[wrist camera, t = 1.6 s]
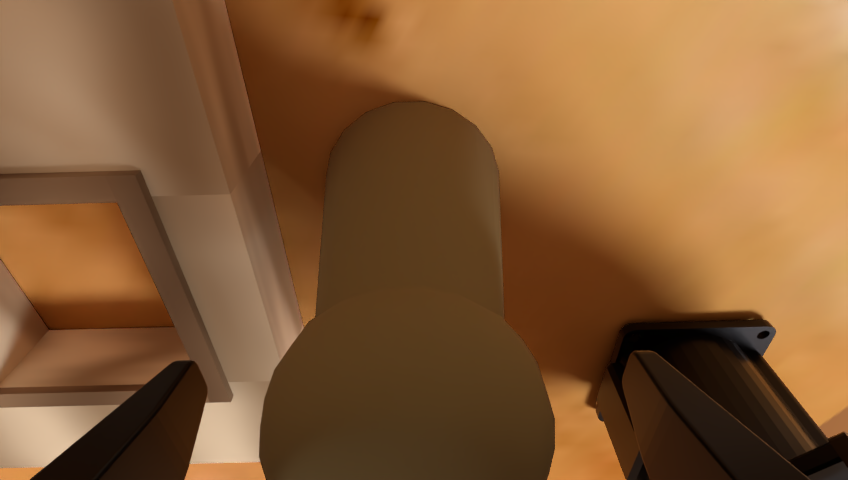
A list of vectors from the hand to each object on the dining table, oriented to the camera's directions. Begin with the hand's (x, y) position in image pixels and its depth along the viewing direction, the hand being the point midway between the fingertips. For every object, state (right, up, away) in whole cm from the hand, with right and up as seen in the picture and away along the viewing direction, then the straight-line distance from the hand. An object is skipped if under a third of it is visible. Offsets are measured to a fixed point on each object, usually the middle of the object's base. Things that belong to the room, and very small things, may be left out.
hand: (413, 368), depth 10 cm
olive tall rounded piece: (0, +5, +7) cm, 8 cm away
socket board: (-12, +2, +8) cm, 15 cm away
